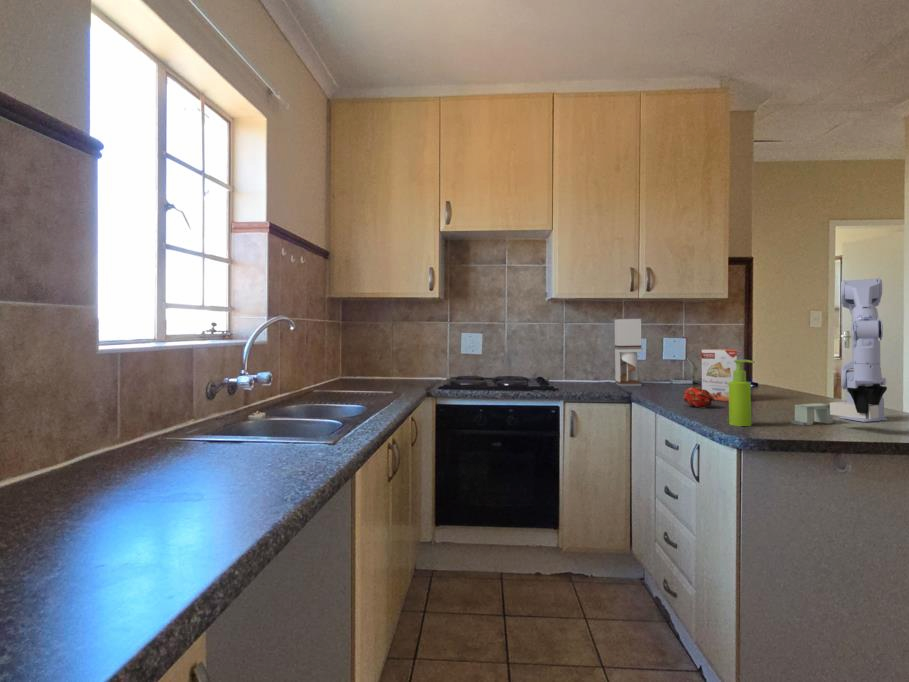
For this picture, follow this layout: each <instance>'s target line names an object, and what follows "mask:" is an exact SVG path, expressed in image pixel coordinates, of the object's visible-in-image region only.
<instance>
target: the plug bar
mask: <svg viewBox="0 0 909 682" xmlns="http://www.w3.org/2000/svg"><path fill="white" fill-rule="evenodd" d="M829 404H830V415H833V416H838V417H840V416H847V417H856V418H865V419H874V418H879V412H878V405H872V404H869V407H868V412H867V414H864V413H857V410H856V407H855V404H854V403H848V402H847V401H846V402H845V401H833V402H831V401H830V402H829Z"/></svg>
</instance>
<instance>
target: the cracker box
mask: <svg viewBox="0 0 909 682" xmlns="http://www.w3.org/2000/svg"><path fill="white" fill-rule="evenodd" d="M743 358H744V357H743V349H728V348H727V349H725V348H722V349H721V348H714V349H713V348H706V349H705V348H704V349H701V388H702V390H707V391H708V392H709V393H710V395H712V396H713V397H714V401H720V402H721V401H723V402H729V382H731V381H733V371H735V370H736V362H734V360H744V359H743Z"/></svg>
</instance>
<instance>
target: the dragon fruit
mask: <svg viewBox="0 0 909 682" xmlns="http://www.w3.org/2000/svg"><path fill="white" fill-rule="evenodd" d="M682 399H683V401H684V403H688V405H689V407H696V408H700V409H706V408H707V407H706V406H712V403H713V402H714V401H715V400H714V397H713V396H712V395H710V393H709V392H708V391H707V390H702V386H697V387H696V386H695V385H694V386H693V385H692V386H691V387H688V388H687V389H686V390H685V391H684V392H683V396H682ZM712 401H713V402H712Z"/></svg>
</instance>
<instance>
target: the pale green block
mask: <svg viewBox="0 0 909 682" xmlns="http://www.w3.org/2000/svg"><path fill="white" fill-rule="evenodd" d="M813 412H814V413H813ZM833 416H834V415H830V403H822V402H817V403H804V404H803V403H802V404H794V420H790V424H793V425H799V426H803V427H804V426H813V425H814V424H813V423H814V422H817V423H822V424H834V422H836V423H837V419H833ZM813 417H814V419H813ZM813 420H814V422H813Z"/></svg>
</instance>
